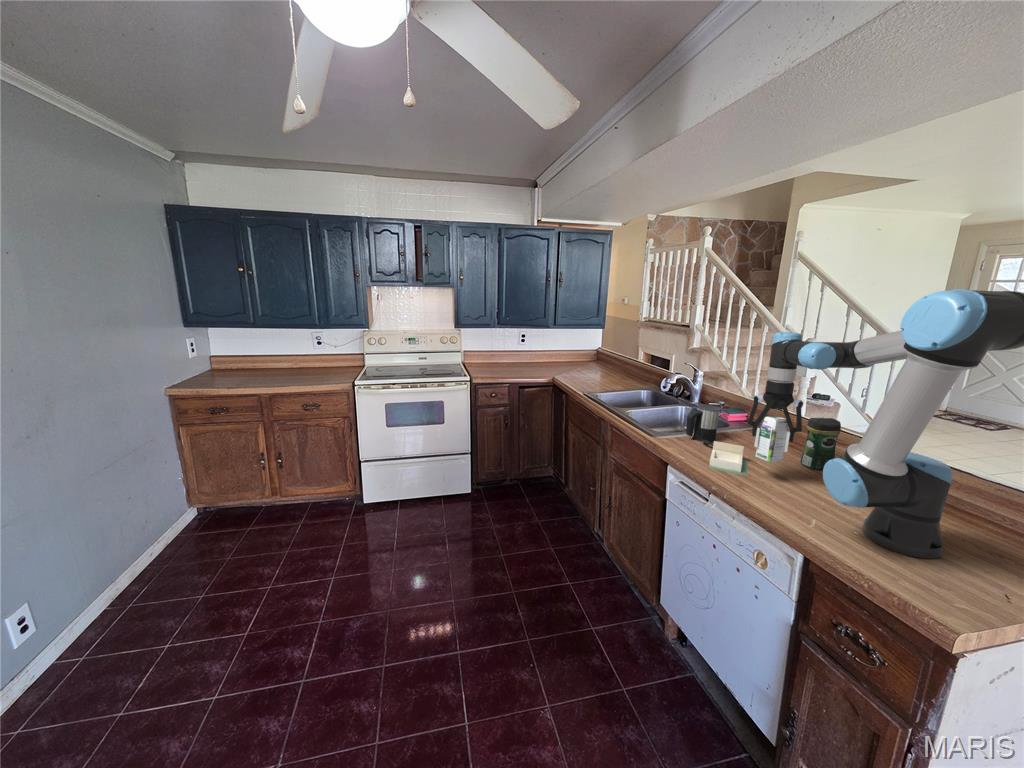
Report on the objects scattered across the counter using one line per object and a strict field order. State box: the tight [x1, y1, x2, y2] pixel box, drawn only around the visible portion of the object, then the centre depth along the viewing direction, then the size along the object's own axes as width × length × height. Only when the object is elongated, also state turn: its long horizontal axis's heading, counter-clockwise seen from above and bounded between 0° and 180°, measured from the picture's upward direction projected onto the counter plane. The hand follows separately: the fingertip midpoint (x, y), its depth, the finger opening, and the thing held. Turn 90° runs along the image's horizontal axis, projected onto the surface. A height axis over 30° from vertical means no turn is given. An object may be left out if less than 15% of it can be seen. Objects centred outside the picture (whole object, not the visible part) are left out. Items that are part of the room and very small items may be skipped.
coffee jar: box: [800, 417, 842, 471], centre depth 149 cm, size 10×8×19 cm
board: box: [708, 458, 749, 477], centre depth 150 cm, size 16×12×1 cm
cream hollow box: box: [708, 440, 745, 472], centre depth 150 cm, size 11×10×6 cm
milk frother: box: [685, 403, 721, 447], centre depth 171 cm, size 14×16×15 cm
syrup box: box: [755, 414, 789, 463], centre depth 135 cm, size 6×6×14 cm
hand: (770, 448), depth 136 cm, fingers closed on syrup box, 8 cm apart
